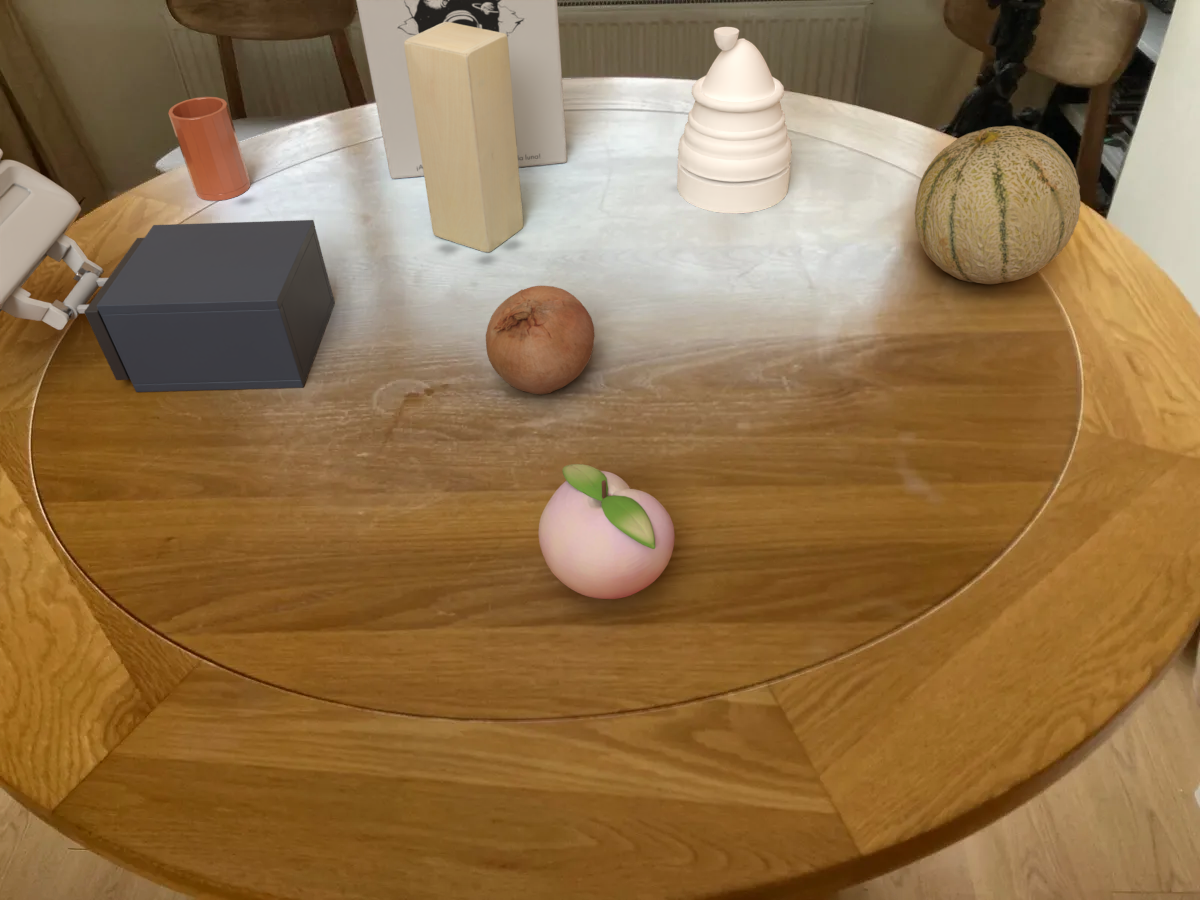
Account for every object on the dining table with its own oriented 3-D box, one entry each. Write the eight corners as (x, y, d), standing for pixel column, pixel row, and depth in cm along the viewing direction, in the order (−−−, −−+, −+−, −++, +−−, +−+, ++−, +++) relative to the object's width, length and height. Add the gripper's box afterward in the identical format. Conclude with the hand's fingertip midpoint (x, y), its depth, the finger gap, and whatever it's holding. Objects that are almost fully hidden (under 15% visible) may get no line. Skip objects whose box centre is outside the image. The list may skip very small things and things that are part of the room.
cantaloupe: (1088, 293, 93) (1141, 146, 83) (960, 327, 90) (999, 177, 80) (992, 224, 104) (1029, 86, 94) (874, 252, 100) (899, 111, 90)
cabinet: (135, 392, 87) (96, 305, 80) (185, 307, 97) (153, 224, 91) (303, 387, 86) (276, 300, 80) (335, 303, 97) (313, 219, 90)
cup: (185, 193, 116) (156, 112, 109) (227, 172, 120) (202, 92, 113) (219, 205, 113) (192, 123, 107) (261, 184, 117) (238, 103, 110)
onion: (532, 431, 85) (491, 378, 77) (493, 354, 90) (450, 296, 81) (625, 378, 85) (594, 319, 76) (581, 303, 90) (548, 240, 81)
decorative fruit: (517, 586, 68) (503, 485, 61) (594, 522, 73) (589, 421, 66) (617, 657, 63) (613, 556, 57) (693, 584, 68) (698, 482, 61)
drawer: (65, 382, 87) (30, 313, 82) (117, 304, 96) (89, 239, 91) (270, 376, 86) (247, 307, 81) (303, 299, 96) (284, 232, 91)
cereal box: (561, 137, 124) (547, -77, 107) (567, 163, 118) (553, -59, 101) (392, 153, 122) (351, -63, 105) (390, 180, 117) (347, -44, 100)
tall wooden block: (530, 224, 107) (511, 30, 93) (490, 254, 103) (464, 54, 89) (473, 208, 110) (448, 18, 96) (432, 236, 106) (399, 41, 92)
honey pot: (719, 224, 106) (727, 58, 94) (656, 180, 114) (656, 22, 102) (810, 193, 110) (830, 31, 98) (743, 153, 119) (754, -1, 107)
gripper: (-132, 244, 73) (49, 345, 79) (-5, 130, 88) (138, 223, 94) (-157, 295, 76) (20, 389, 82) (-30, 177, 91) (110, 264, 97)
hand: (84, 299), depth 88 cm, fingers closed on drawer, 5 cm apart
